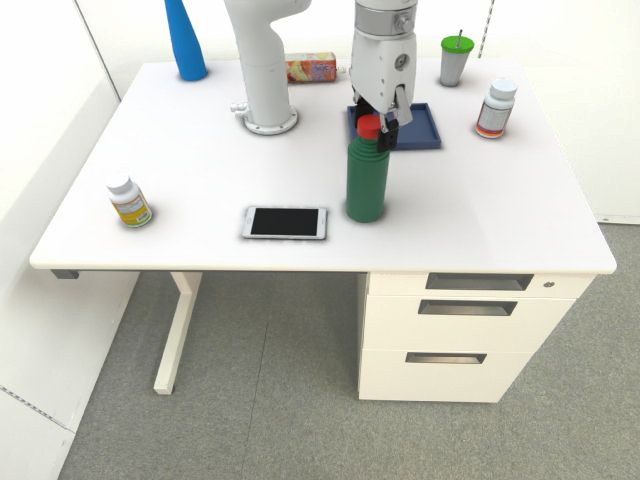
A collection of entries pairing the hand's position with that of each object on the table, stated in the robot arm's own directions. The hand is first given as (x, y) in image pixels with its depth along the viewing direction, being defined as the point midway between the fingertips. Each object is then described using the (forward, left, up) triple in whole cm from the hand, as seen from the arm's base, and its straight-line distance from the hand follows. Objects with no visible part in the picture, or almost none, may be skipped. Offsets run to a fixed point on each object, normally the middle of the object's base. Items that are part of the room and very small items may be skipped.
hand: (374, 136), depth 63 cm
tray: (+8, +26, -17) cm, 32 cm away
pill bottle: (+30, +24, -17) cm, 42 cm away
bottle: (-43, +56, -17) cm, 73 cm away
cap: (-1, +1, +2) cm, 2 cm away
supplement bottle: (-44, +1, -17) cm, 47 cm away
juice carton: (-14, +51, -17) cm, 56 cm away
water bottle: (-1, +1, -17) cm, 17 cm away
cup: (+26, +46, -17) cm, 56 cm away
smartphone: (-15, -2, -17) cm, 23 cm away
